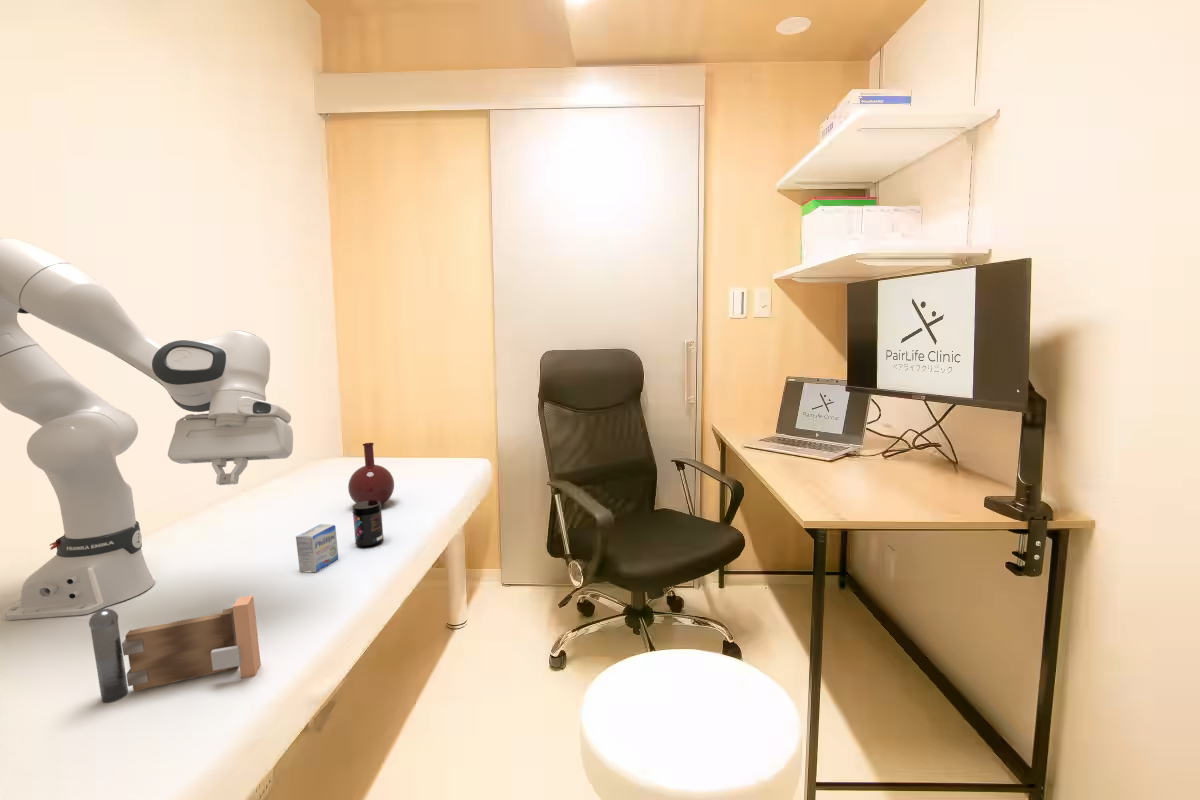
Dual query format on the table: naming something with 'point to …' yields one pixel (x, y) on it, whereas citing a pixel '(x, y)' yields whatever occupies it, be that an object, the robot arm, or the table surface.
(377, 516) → the supplement container
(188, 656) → the gate
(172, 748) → the table surface
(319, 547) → the medicine box
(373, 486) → the round-bottom flask
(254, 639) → the latch post
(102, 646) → the hinge post
